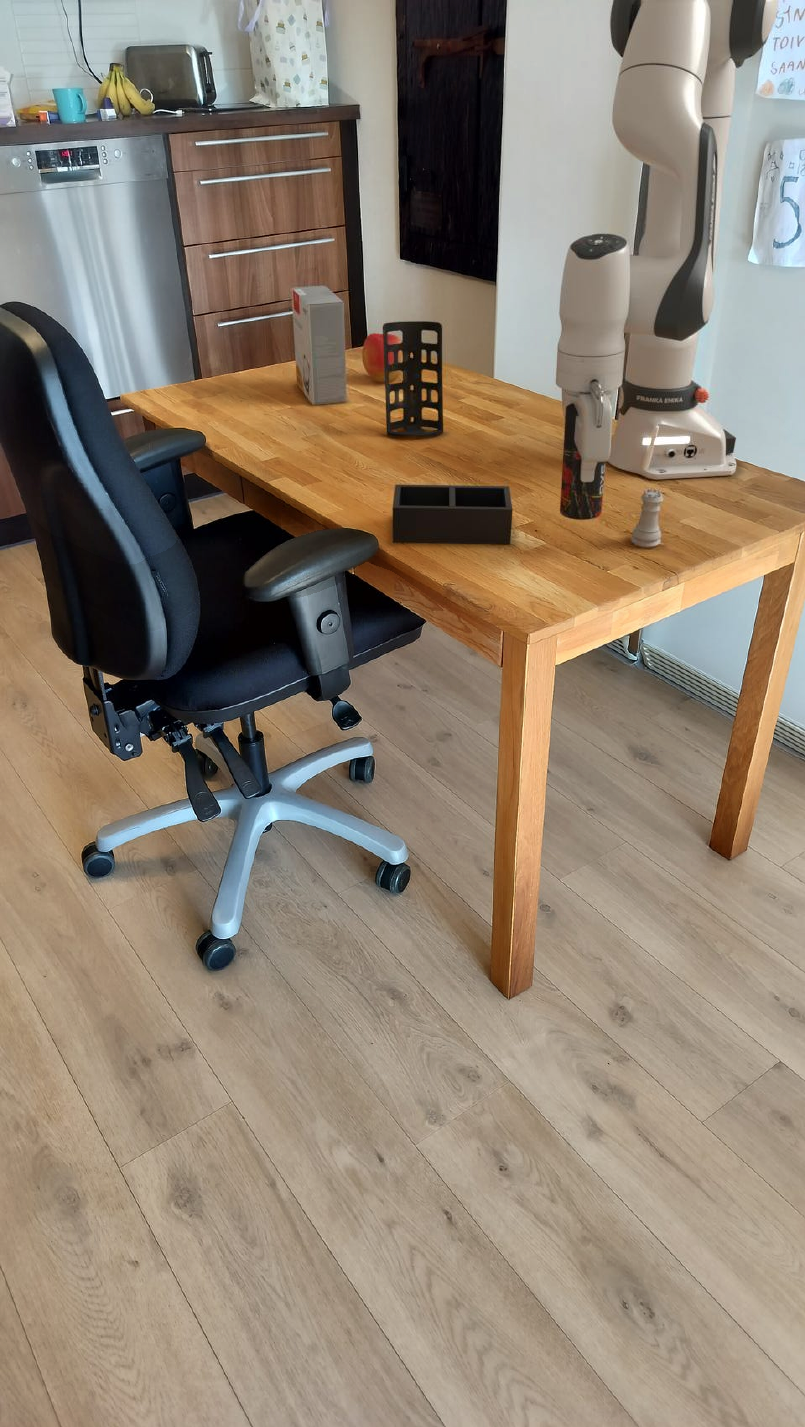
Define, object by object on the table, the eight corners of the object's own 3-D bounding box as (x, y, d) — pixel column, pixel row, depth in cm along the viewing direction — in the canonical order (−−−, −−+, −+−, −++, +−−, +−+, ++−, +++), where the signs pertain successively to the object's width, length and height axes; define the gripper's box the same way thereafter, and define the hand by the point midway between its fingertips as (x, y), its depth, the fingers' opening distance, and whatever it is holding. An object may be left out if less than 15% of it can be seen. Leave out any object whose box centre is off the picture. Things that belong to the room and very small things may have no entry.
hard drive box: (295, 385, 215) (290, 286, 204) (330, 382, 217) (326, 284, 206) (312, 406, 203) (307, 302, 192) (348, 402, 205) (345, 300, 194)
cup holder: (395, 518, 156) (395, 484, 153) (506, 520, 155) (509, 486, 152) (392, 543, 148) (392, 507, 145) (510, 545, 148) (512, 509, 145)
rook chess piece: (656, 536, 150) (664, 485, 146) (663, 548, 147) (672, 497, 142) (627, 536, 150) (634, 486, 146) (633, 549, 147) (641, 497, 142)
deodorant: (601, 520, 141) (610, 415, 132) (559, 519, 142) (565, 414, 133) (601, 504, 146) (610, 401, 137) (560, 503, 146) (566, 401, 138)
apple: (375, 389, 213) (374, 341, 207) (355, 378, 220) (354, 331, 214) (414, 383, 217) (415, 335, 211) (393, 372, 224) (393, 326, 218)
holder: (390, 440, 185) (388, 326, 175) (380, 432, 191) (378, 321, 182) (447, 436, 187) (448, 323, 178) (435, 428, 194) (435, 318, 184)
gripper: (627, 392, 124) (618, 498, 132) (601, 350, 141) (593, 446, 149) (576, 394, 124) (570, 499, 132) (556, 352, 141) (551, 447, 149)
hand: (582, 470), depth 140 cm, fingers closed on deodorant, 6 cm apart
